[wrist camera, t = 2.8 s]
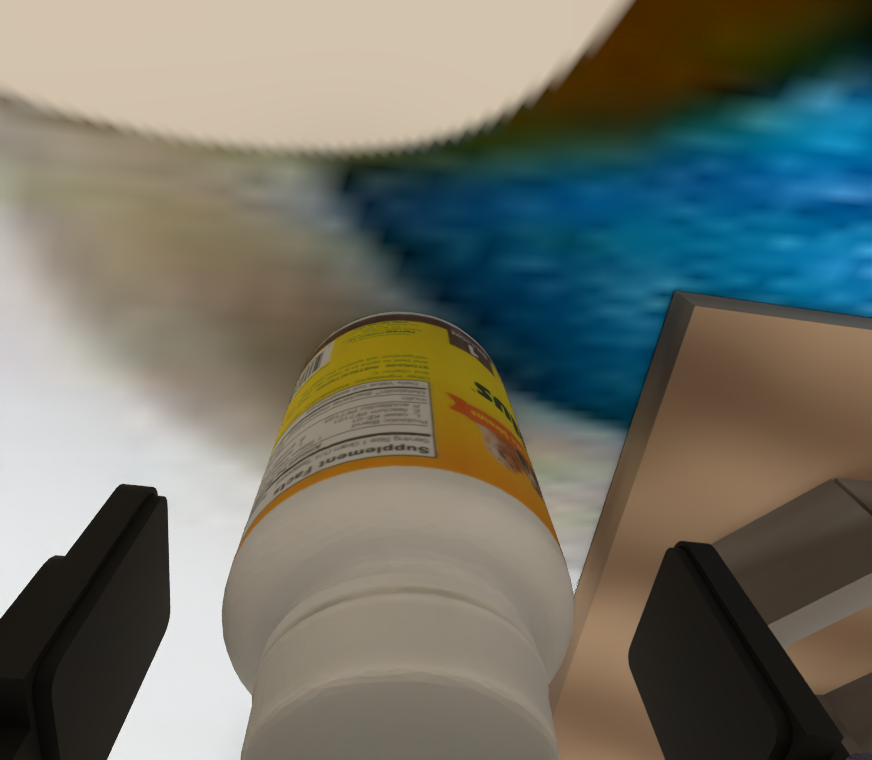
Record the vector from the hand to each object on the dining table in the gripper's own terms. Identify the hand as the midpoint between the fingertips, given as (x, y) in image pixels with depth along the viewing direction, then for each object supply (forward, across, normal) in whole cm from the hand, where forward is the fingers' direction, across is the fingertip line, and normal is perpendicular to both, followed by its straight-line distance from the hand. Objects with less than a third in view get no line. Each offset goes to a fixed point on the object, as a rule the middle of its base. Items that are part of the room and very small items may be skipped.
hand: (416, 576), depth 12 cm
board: (+6, -14, +4) cm, 16 cm away
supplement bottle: (+6, 0, -1) cm, 6 cm away
